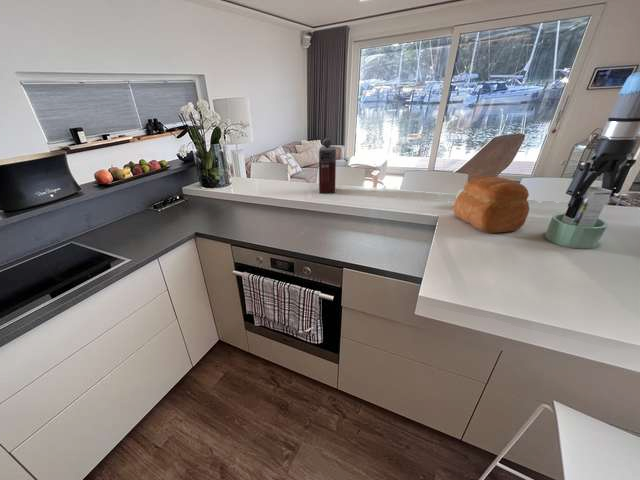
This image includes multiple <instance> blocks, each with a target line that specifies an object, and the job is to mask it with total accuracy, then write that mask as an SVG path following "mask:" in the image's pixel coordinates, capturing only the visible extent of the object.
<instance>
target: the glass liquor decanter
mask: <svg viewBox="0 0 640 480" xmlns="http://www.w3.org/2000/svg"><path fill="white" fill-rule="evenodd" d="M322 143H323V144H322V145H323V146H320V147H319V148H318V194H319V195H321V194H322V195H323V194H336V176H337V175H336V174H337V173H336V171H337V169H336V168H337V165H336V164H337V148H336V146H335V145H334V146H333V145H332V140H331V138H324V140H323V141H322Z"/></svg>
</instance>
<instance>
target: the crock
mask: <svg viewBox="0 0 640 480" xmlns="http://www.w3.org/2000/svg"><path fill="white" fill-rule="evenodd" d="M565 213H566V212H563V213H562V212H561V213H555V214H554V215H552V217H551V219H550V221H549V224H548V226H547V229H546V231H545V233H544V238H545V239H546V240H547V241H549V242H550V243H553V244H556V245H559V246H563V247H566V248H572V249H584V250H585V249H594V248H596V247H597V245H598V244H599V242H600V241H601V239H602V237H603V235H604V234H605V231H606V229H607V228H608V226H609V224H608V222H607V221H606V220H604V219H602V218H599V217H598V219H597V221H596V223H595V225H594V227H583V226H576V225H571V224H567V223H564V222H561V221H562V219H563V217H564V215H565Z"/></svg>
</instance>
